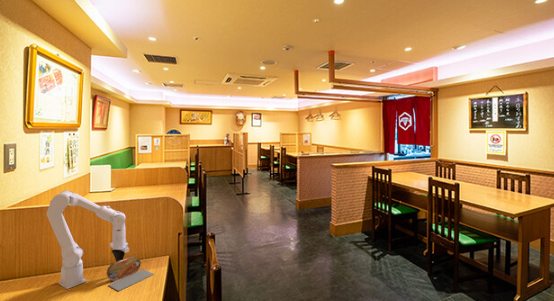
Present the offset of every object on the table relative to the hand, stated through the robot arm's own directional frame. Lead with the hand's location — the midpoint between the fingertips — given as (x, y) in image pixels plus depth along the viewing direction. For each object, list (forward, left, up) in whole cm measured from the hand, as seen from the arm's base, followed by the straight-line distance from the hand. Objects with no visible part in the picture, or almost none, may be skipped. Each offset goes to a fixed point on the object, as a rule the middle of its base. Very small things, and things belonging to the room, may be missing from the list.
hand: (119, 263), depth 128 cm
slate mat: (+11, 0, -5) cm, 13 cm away
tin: (+4, 0, -6) cm, 7 cm away
